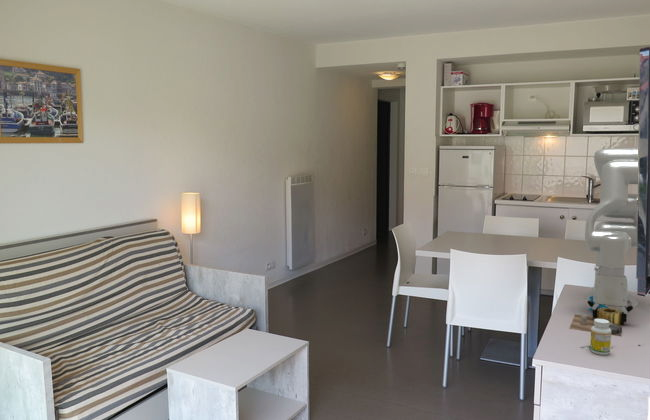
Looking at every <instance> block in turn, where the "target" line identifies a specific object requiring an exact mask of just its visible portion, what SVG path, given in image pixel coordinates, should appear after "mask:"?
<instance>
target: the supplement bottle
mask: <svg viewBox="0 0 650 420" xmlns="http://www.w3.org/2000/svg"><path fill="white" fill-rule="evenodd" d="M594 325H595V326H593V327H592V328H591V332H590V346H589V347H590V348H589V349H590V352H592V353H593V354H596V355H601V356H605V355H606V356H607V355H610V354H611V349H612V347H611V345H612V335H611V329H610V328H609V321H608V320H605V319H594Z"/></svg>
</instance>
